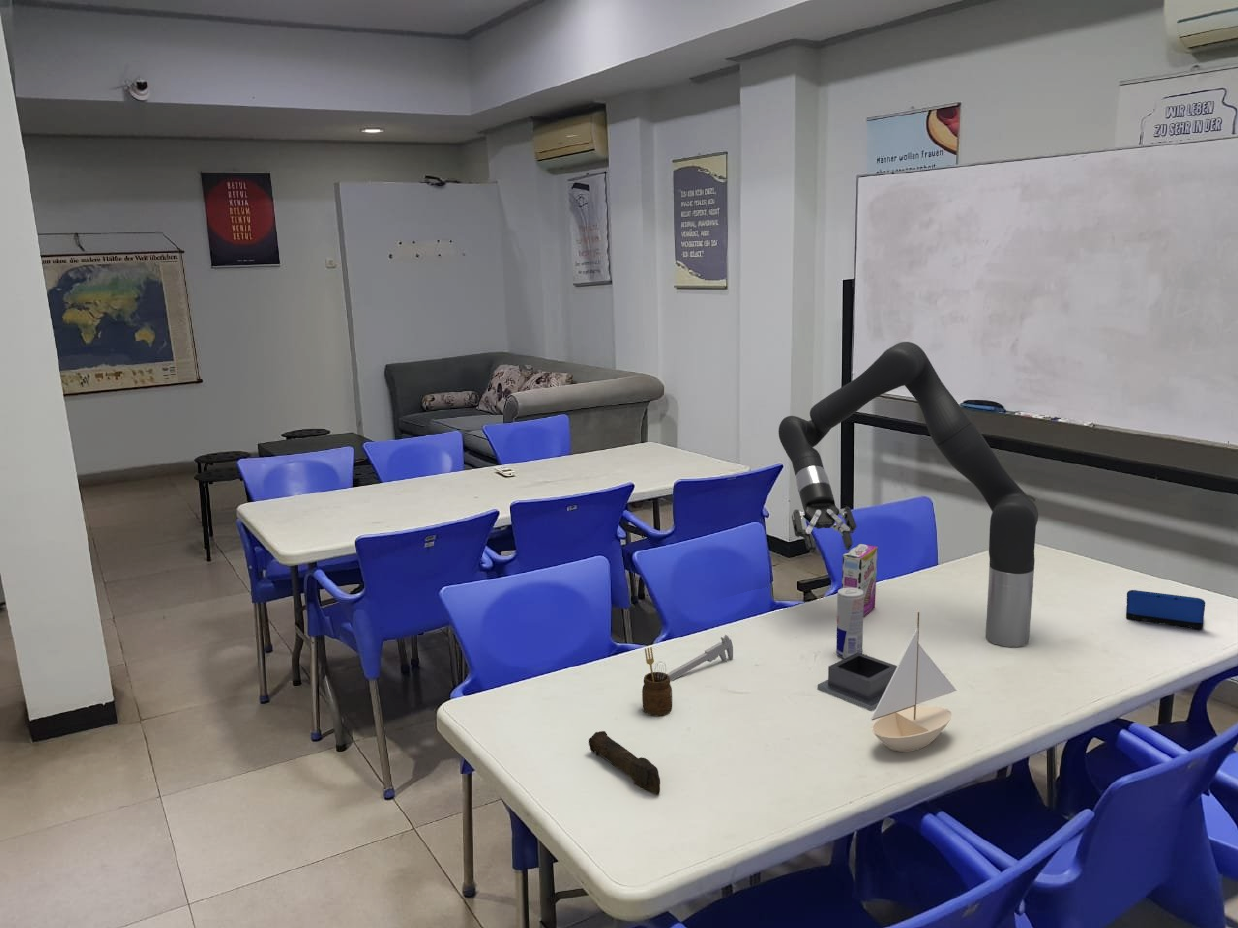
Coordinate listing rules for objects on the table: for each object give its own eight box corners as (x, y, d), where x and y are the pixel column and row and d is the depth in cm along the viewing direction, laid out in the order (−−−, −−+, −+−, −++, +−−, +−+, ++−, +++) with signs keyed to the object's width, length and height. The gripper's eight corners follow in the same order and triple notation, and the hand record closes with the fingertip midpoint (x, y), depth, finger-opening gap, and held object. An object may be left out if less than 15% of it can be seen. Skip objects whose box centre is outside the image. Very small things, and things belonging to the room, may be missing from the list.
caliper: (730, 659, 206) (729, 632, 205) (733, 660, 206) (733, 634, 204) (656, 684, 195) (656, 656, 194) (659, 686, 194) (659, 658, 193)
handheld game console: (1202, 618, 220) (1206, 581, 218) (1202, 638, 209) (1206, 599, 207) (1127, 607, 228) (1131, 571, 226) (1123, 626, 217) (1127, 588, 215)
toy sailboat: (894, 633, 155) (857, 616, 162) (889, 769, 160) (854, 747, 168) (981, 608, 164) (943, 593, 172) (974, 737, 169) (937, 717, 177)
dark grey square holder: (855, 669, 198) (855, 648, 197) (909, 689, 189) (909, 666, 188) (817, 689, 190) (817, 666, 189) (871, 710, 180) (872, 686, 179)
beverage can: (863, 651, 208) (864, 587, 204) (861, 661, 202) (862, 596, 199) (837, 648, 209) (838, 585, 206) (834, 658, 204) (836, 594, 201)
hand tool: (587, 753, 169) (586, 730, 168) (606, 747, 171) (605, 723, 170) (645, 802, 153) (644, 777, 152) (665, 794, 155) (664, 769, 154)
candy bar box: (859, 622, 224) (861, 557, 220) (840, 618, 227) (841, 554, 223) (876, 608, 232) (878, 545, 229) (857, 604, 235) (859, 542, 232)
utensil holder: (652, 719, 180) (650, 662, 177) (636, 706, 185) (634, 650, 183) (678, 712, 182) (677, 655, 180) (662, 699, 188) (660, 644, 185)
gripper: (789, 482, 217) (805, 544, 209) (847, 479, 219) (865, 539, 211) (782, 499, 223) (797, 559, 215) (838, 495, 225) (855, 554, 217)
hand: (831, 549), depth 213 cm, fingers open, 8 cm apart
